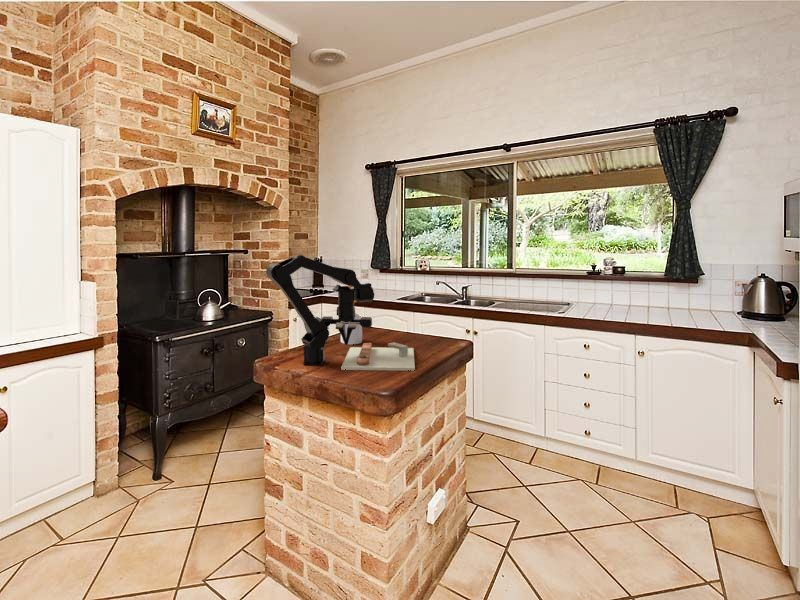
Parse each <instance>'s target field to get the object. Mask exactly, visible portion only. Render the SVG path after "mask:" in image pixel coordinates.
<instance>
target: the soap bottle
mask: <svg viewBox="0 0 800 600" xmlns="http://www.w3.org/2000/svg"><path fill="white" fill-rule="evenodd" d="M347 286H348V285H347ZM348 287H349V288H353V287H352V286H348ZM354 303H358V302H357V301H356V300H355V299H354ZM354 310H355V311H356V307H355V306H354ZM361 317H362V316H361V315H359V314H357V313H356V312H355V319H361ZM341 322H342V321H341ZM344 325H345V331H346V337H347V328H348V326H349V325H348V324H344ZM362 342H363V327H362V326H361V325H360V324H357V327H356V329H353V330H352V332H351V335H350V338H349V341H348V344H347V346H348V345H350V346H352V345H353V344H354V345H359V344H361V343H362ZM340 343H341V344H343V345H345V343H344V340H343V338H342V335H341V334H340Z"/></svg>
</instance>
